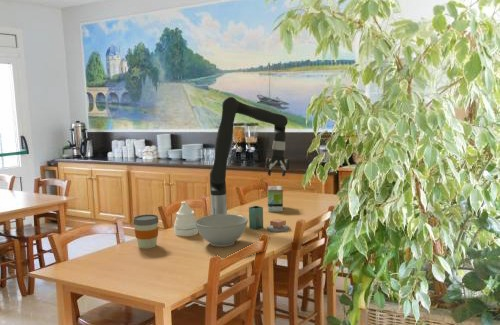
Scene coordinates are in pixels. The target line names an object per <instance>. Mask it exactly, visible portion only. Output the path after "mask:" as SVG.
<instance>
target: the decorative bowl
mask: <svg viewBox="0 0 500 325" xmlns="http://www.w3.org/2000/svg"><path fill="white" fill-rule="evenodd" d="M248 221H249V218H247V217H246V216H243V215H238V214H230V213H229V214H228V213H227V214H219V215H206V216H202V217H199V218H197V219H196V221H195V224H196V227H197V230H198V233H199V235H200V236H201V237H202V238H203V239H204V240H205V241H206V242H208V243H209V244H210V245H211V246H213V247H217V248H218V247H220V248H221V247H222V248H224V247H229V246H232V245H234V244H235V242H236V241H237V240H239V239H240V238H241V236H243V234H244V232H245V230H246V228H247V226H248V223H249V222H248Z"/></svg>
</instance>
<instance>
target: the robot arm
mask: <svg viewBox="0 0 500 325" xmlns="http://www.w3.org/2000/svg"><path fill="white" fill-rule="evenodd" d="M236 114H239V115H243V116H246V117H249V118H251V119H253V120H257V121H259V122H262V123H266V124H267V123H268V124H271V125H273V126H274V127H273V128H274V133H273V140H272V148H271V149H272V150H271V158H270V157H266V159H265V163H264V164H265V165H264V167H265V168H266V170H267V175H268V176H269V177H271V175H272V168H273V167H281V168H282V171H281V172H282V173H281V177H285V176H286V171H287V170H289V169H290V159H288V158H286V159H285V154H286V138H287V136H286V135H287V134H286V127H287V125H288V122H289V121H288V118H287V116H285V115H282V114H279V113H275V112H272V111H269V110H266V109H264V108H260V107H257V106H252V105H249V104H246V103H244V102H241V101H239V100H237V99H236V98H235V97H233V96H228V97H226V98H225V99H224V100H223V101H222V112H221V119H220V123H219V127H218V130H217V135H216V138H215V145H214V146H215V147H214V162H213V166H212V169H211V170H210V172H209V184H210V185H209V186H210V187H209V188H210V206H209V211H210V212H209V214H210V215H219V214H228V210H227V209H228V208H227V207H228V206H227V204H228V203H227V186H226V177H227V175H226V174H227V163H228V158H229V155H230V152H231V147H232V144H233V143H232V142H233V137H234V124H235V122H234V121H235V117H236ZM270 162H271V163H270ZM269 163H270V164H269ZM284 163H285V164H284ZM210 215H209V216H210Z"/></svg>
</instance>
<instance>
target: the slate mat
mask: <svg viewBox="0 0 500 325" xmlns="http://www.w3.org/2000/svg"><path fill="white" fill-rule="evenodd" d="M266 230H267V231H268V232H271V233H284V232H288V231H290V230H291V227H290V226H288V225H287V224H286V225H284V226H283V228H279V229H277V228H273V226H272V225H268V226H266Z"/></svg>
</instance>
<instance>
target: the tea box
mask: <svg viewBox="0 0 500 325" xmlns="http://www.w3.org/2000/svg"><path fill="white" fill-rule="evenodd" d="M267 210H268V212H270V213H273V212H277V213H278V212H280V213H281V212H283V211H284V190H283V186H282V185H268V186H267Z"/></svg>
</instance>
